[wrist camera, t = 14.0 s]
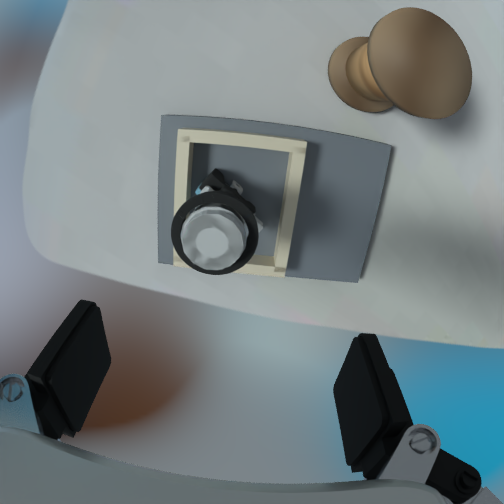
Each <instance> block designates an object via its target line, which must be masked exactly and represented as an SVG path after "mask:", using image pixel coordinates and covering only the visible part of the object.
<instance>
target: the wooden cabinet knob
mask: <svg viewBox="0 0 504 504" xmlns="http://www.w3.org/2000/svg"><path fill="white" fill-rule="evenodd" d="M328 76H329V80H330V83H331V86H332V88H333V90H334V91H335V93H336V94H337V96H338V97H339V98H340V99H341V100H342V101H343V102H344V103H346V104H347V105H349V106H350V107H352V108H354V109H357V110H360V111H365V112H380V111H384V110H386V109H388V108H390V107H392V106H393V105H395V106H396V107H397V108H399V109H400V110H402V111H404V112H406V113H408V114H410V115H413V116H417V117H422V118H429V119H441V118H446V117H448V116H451V115H452V114H454V113H456V112H457V111H458V110H459V109H460V108H461V107H462V106H463V105H464V103H465V102H466V100H467V98H468V96H469V93H470V89H471V84H472V68H471V63H470V59H469V55H468V53H467V50H466V48H465V46H464V44H463V42H462V40H461V39H460V37H459V36H458V34H457V33H456V32H455V31H454V29H453V28H452V27H451V26H450V25H449V24H448V23H446V22H445V21H444V20H443V19H441V18H440V17H438V16H437V15H435V14H433V13H431V12H429V11H426V10H423V9H419V8H411V7H410V8H401V9H398V10H395V11H393V12H391V13H389V14H388V15H386V16H384V17H383V18H381V19H380V20H379V21H378V22H377V23H376V24H375V26H374V27H373V29H372V31H371V33H370V36H369V37H355V38H352V39H349V40H347V41H345V42H344V43H342V44H341V45H339V46H338V47H337V48H336V49H335V50H334V52H333V53H332V55H331V57H330V60H329V64H328Z"/></svg>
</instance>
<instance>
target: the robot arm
mask: <svg viewBox="0 0 504 504" xmlns="http://www.w3.org/2000/svg"><path fill="white" fill-rule="evenodd" d="M110 364H111V356H110V352H109V348H108V344H107V340H106V335H105V331H104V326H103V321H102V316H101V311H100V308H99V307H97V306H96V303H95V302H91V301H86V300H80V301H79V302H78V303H77V304H76V306H75V307H74V308H73V310H72V311H71V312H70V313H69V315H68V316H67V317H66V319H65V320H64V321H63V323H62V324H61V326H60V327H59V328H58V329H57V331H56V332H55V333H54V335H53V336H52V338H51V339H50V340H49V342H48V343H47V345H46V346H45V347H44V349H43V350H42V352H41V353H40V355H39V356H38V358H37V359H36V361H35V362H34V363H33V365H32V366H31V368H30V369H29V371H28V372H27V374H26V375H25V377H23V376H21V375H18V374H8V375H6V376H4V377H2V378H1V379H0V504H503V503H502V502H501V501H500V500H499V499H498V498H497V497H496V496H495V495H494V494H493V493H492V492H491V491H490V490H489V489H488V488H487V487H484V488H482V487H481V477H480V474H479V472H478V471H477V470H476V469H475V468H474V467H472V466H471V465H468V464H467V463H465V462H463V461H461V460H459V459H458V458H456V457H454V456H453V455H451V454H449V453H447V452H446V451H444V450H442V449H440V445H441V443H440V438H439V436H438V434H437V433H436V431H435V430H434V429H432V428H431V427H429V426H427V425H424V424H417V425H413V422H412V419H411V416H410V414H409V411H408V408H407V406H406V403H405V400H404V397H403V395H402V392H401V390H400V387H399V384H398V382H397V379H396V377H395V374H394V372H393V370H392V369H390V368H389V365H388V363H387V360H386V358H385V355H384V353H383V350H382V348H381V346H380V344H379V341H378V338H377V336H376V335H375V334H366V333H361V334H359V335H358V337H355V338H354V339H353V341H352V343H351V346H350V348H349V351H348V354H347V356H346V358H345V361H344V363H343V365H342V368H341V370H340V372H339V375H338V377H337V379H336V382H335V384H334V389H333V391H334V392H333V393H334V398H335V403H336V408H337V413H338V419H339V424H340V429H341V435H342V440H343V446H344V452H345V458H346V463H347V465H348V466H351V470H352V473H353V472H362V471H363V476H364V477H365V478H364V480H362V481H349V482H335V483H313V484H312V483H311V484H310V483H309V484H271V483H251V482H237V481H226V480H216V479H208V478H201V477H194V476H188V475H181V474H176V473H171V472H165V471H160V470H155V469H151V468H147V467H142V466H138V465H134V464H130V463H126V462H122V461H119V460H115V459H112V458H108V457H105V456H102V455H98V454H95V453H92V452H89V451H86V450H83V449H80V448H77V447H74V446H71V445H68V444H65V443H63V442H61V441H60V438H61V435H62V434H65V435H68V436H70V437H74V435H75V433H76V431H77V432H79V431H80V430H81V428H82V426H83V423H84V421H85V419H86V417H87V414H88V412H89V410H90V408H91V405H92V403H93V401H94V399H95V397H96V394H97V392H98V390H99V388H100V386H101V384H102V381H103V379H104V377H105V375H106V373H107V371H108V369H109V367H110Z"/></svg>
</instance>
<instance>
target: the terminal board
mask: <svg viewBox="0 0 504 504" xmlns="http://www.w3.org/2000/svg"><path fill="white" fill-rule="evenodd" d="M390 151H391V145H388V144H385V143H380V142H376V141H372V140H367V139H363V138H358V137H354V136H349V135H344V134H339V133H333V132H328V131H322V130H317V129H311V128H304V127H298V126H291V125H284V124H277V123H269V122H261V121H252V120H242V119H231V118H219V117H204V116H184V115H161V129H160V147H159V170H158V263H163V264H171V265H173V266H177V267H186V268H191V267H190V266H188V265H187V264H186V263H185V262H184V261H183V260H182V259H181V258H180V257H179V256H178V254H177V252H176V251H175V249H174V246H173V243H172V239H171V225H172V221H173V218H174V216H175V214H176V212H177V211H178V209H179V208H180V207H181V206H182V204H183V203H184V202H186V201H187V200H188V199H190V198H191V197H193V196H195V195H197V194H196V193H195V191H196V189H197V188H198V186H199V185H200V184H201V183H202V182H203V181H204V180H205V179H206V177H207V176H208V175H209V174H210V173H211V172H212V171H213V170H214V169H215V168H216V169H218V170H219V171H220V172H221V173H222V174H223V175H224V180H225V182H226V183H227V184H228V185H229V186H231V185H232V182H233V180H234V181H236V182H237V183H238V184H239V185H240V186H241V187H242V188H243V192H242V194H241V196H242V197H243V198H244V199H245V200H246V201H249V202H251V203H252V204H253V205H254V206H255V209H256V212H255V214H256V215H255V216H256V217H257V218H258V219H259V220H260V221H261V222H262V223H263V225H262V226H263V229H262V230H261V231H260V232H259V239H258V245H257V248H256V251H255V253H254V255H253V256H252V258H251V259H250V260H249V261H248V262H247V264H245V265H244V266H243V267H241V268H240V269H238V270H236V271H234V272H233V273H243V274H253V275H263V276H273V277H285V276H287V277H298V278H309V279H320V280H331V281H343V282H355V283H358V280H359V277H360V274H361V270H362V267H363V264H364V260H365V257H366V253H367V249H368V246H369V242H370V239H371V235H372V231H373V227H374V223H375V219H376V215H377V211H378V207H379V203H380V199H381V194H382V190H383V185H384V181H385V176H386V171H387V166H388V161H389V156H390ZM237 186H238V185H237ZM238 187H239V186H238ZM195 208H196V207H195ZM195 208H194V209H192V210H191V211H190V212H189V213H188V214H187V216H186V219H187V218H188V217H189V215H190V214H191V213H193V212H194V210H195ZM257 222H258V221H257ZM258 223H259V222H258ZM244 228H245V231H246V234H247V237H248V233H249V232H248V227H246V226H245V225H244Z"/></svg>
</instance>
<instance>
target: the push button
mask: <svg viewBox="0 0 504 504" xmlns="http://www.w3.org/2000/svg"><path fill="white" fill-rule="evenodd" d="M237 185H238V186H239V187H238V186H237ZM242 192H243V188H242V187H241V186H240V185H239V184H238V183H237V182H236V181H234V180H233V182H232V185H231V186H229V185H228V184H227V183H226V182H225V180H224V175H223V174H222V173H221V172H220V171H219V170H218V169H216V168H215V169H214V170H213V171H212V172H211V173H210V174H209V175H208V176H207V177H206V179H205V180H204V181H203V182H202V183H201V184H200V185H199V186H198V188H197V189H196V191H195V193H196V194H197V195H195V196H193V197H191V198H190V199H188V200H187V201H186V202H184V203H183V204H182V206H181V207H180V208H179V209H178V211H177V212H176V214H175V216H174V218H173V221H172V225H171V239H172V243H173V246H174V249H175V251H176V252H177V254H178V256H179V257H180V258H181V259H182V260H183V261H184V262H185V263H186V264H187V265H188V266H190V267H191V268H193V269H195V270H197V271H199V272H202V273H205V274H211V275H222V274H228V273H231V272H234V271H236V270H238V269H240V268H241V267H243V266H244V265H245V264H247V262H248V261H249V260H250V259H251V258H252V256H253V255H254V253H255V251H256V248H257V245H258V239H259V232H260V231H261V230H262V229H263V226H262V225H263V223H262V222H261V221H260V220H259V219H258V218H257V217H256V216H255V215H256V214H255V212H256V209H255V206H254V205H253V204H252V203H251V202H249V201H246V200H245V199H244V198H243V197H242V196H241V194H242ZM195 207H196V208H195ZM194 208H195V210H194V212H193V213H191V214H190V215H189V217H188V218H187V219H186V216H187V214H188V213H189V212H190V211H191V210H192V209H194ZM257 221H258V222H259V223H258V222H257ZM244 225H245V226H246V227H248V232H249V233H248V237H247V234H246V231H245V228H244Z"/></svg>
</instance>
